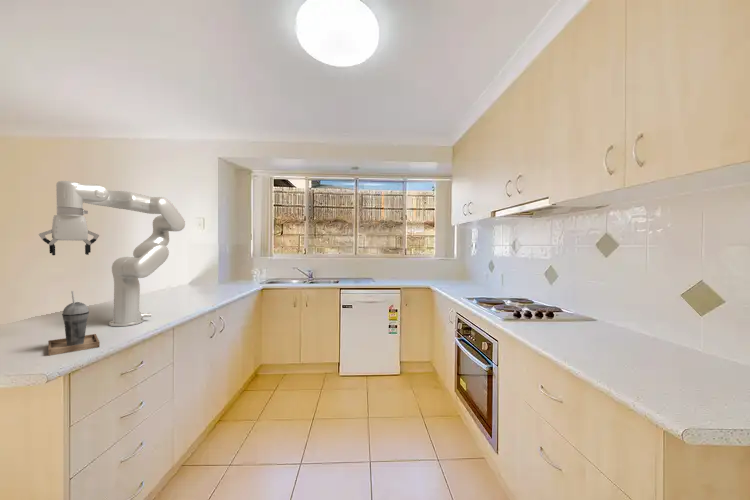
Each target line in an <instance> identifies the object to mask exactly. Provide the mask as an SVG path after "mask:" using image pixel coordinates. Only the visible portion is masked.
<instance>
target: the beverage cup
mask: <svg viewBox="0 0 750 500" xmlns="http://www.w3.org/2000/svg"><path fill="white" fill-rule="evenodd" d="M71 298H72V302H71V303H69V304H67V305H66V306H65V307H64V308H63V310H62V314H61V315H62V319H63V322H64V332H65V338H66V342H67V346H73V345H80V344H83V343H84V339H85V335H86V332H87V331H86V330H87V321H88V317H89V313H90V310H89V307H88V306H87V304H85V303H83V302H78V301H77V302H76V301H75V294H74V290H71Z"/></svg>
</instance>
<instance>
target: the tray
mask: <svg viewBox="0 0 750 500" xmlns="http://www.w3.org/2000/svg"><path fill="white" fill-rule="evenodd" d="M47 347H48V349H47V350H48V355H47V356H54V355H60V354H67V353H72V352H79V351H86V350H90V349H91V350H92V349H95V348H96V349H97V348H100V340H99V338H98V336H97V333H94V334H85V339H84V343H83V344H80V345H73V346H67V342H66V337H65V338H64V337H63V338H58V339H57V338H56V339H51V340H48V346H47Z"/></svg>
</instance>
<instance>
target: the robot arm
mask: <svg viewBox="0 0 750 500" xmlns="http://www.w3.org/2000/svg"><path fill="white" fill-rule="evenodd" d="M55 187H56V190H55V191H56V196H55V197H56V214H55V215H53V218H52V222H51V223H52V226H51V229H49V230H47V231H43V232H40V233H39V234H38V236H39V237H40V239H41V240H42V241H43V242H45V244H47V245H49V248H48V249H49V254H51V256H56V245H55V243H57V242H58V241H82V242H84V243H85V245H84V249H85V250H84V253H85V255H87V256H89V254H90V253H91V249H92V248H91V245H93V244H94V243H96V241H97V240H98V238H99V237H100V234H98V233H96V232H93V231H90V230H88V229H89V228H88V223H87V222H88V221H87V219H86V216H84V215H88V214H89V212H88V210H86V209H84V204H88V205H93V206H94V205H95V206H100V207H108V208H113V209H119V210H125V211H131V212H132V211H134V212H138V213H142V214H147V215H148V214H150V215H157V216H155V217H154V218H153V221H152V233H151V234H150V236H148V238H146V239H145V240H143V242H141V243H140V244H139V245H137V246H136V247H135V248H134V249H133V251H132V252H133V253H132V256H122V257H118V258H116V259H115V260H114V261H113V262H112V265H111V274H112V278H113V320H111V321H109V322H108V325H109V326H111V327H127V326H134V325H139V324H141V323H143V322H144V318H152V313H151V312H148V313H147V312H143V313H141V312H140V296H141V295H140V292H141V291H140V290H141V284H140V280H139V279H143V278H144V279H145V278H147V277H149V276H150V275H152V274H153V273H154V272H155V271H156V270H158V269H159V267H161V266H162V265H163V264H164V263H165V262H166V261H167V260H168V257H169V254H170V251H169V247H168V244H169V242H170V233H169V232H181V231H183V230H184V228H185V226H186V221H185V217H183V215H182V214H181V213H180V212H179V210H178V209H177V208H176V206H175V205H174V204H173V203H172V202H171V201H170V200H169V199H168V198H166V197H164V196H163V197H162V196H149V195H144V194H141V193H140V194H139V193H135V192H131V191H125V190H110V189H109V190H108V189H107V188H106V187H104V186H103V185H100V184H95V183H80V182H76V181H71V180H60V181H57V182H56V185H55ZM50 234H51V238H52V239H51V240H49V239H48V238H47V237H46V236H47V235H50ZM89 235H90V236H92V237H93V238H91V239H90V240H89V239H88V238H89Z"/></svg>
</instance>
